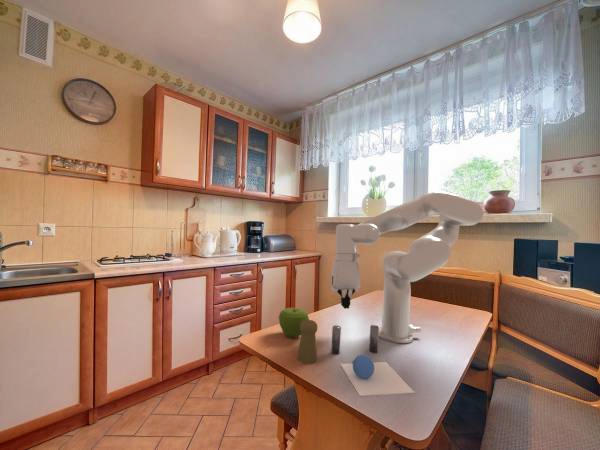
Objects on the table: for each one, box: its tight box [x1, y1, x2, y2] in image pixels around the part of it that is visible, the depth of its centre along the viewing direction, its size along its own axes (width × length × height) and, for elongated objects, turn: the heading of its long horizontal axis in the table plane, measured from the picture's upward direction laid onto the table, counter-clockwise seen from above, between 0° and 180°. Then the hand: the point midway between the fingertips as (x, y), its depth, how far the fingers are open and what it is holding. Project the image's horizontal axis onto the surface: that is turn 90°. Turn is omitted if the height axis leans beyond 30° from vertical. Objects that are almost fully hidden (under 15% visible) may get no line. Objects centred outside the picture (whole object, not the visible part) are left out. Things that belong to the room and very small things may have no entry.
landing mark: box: [340, 361, 415, 397], centre depth 69 cm, size 14×14×1 cm
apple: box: [278, 307, 310, 339], centre depth 92 cm, size 11×10×10 cm
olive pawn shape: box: [296, 319, 318, 365], centre depth 77 cm, size 6×6×11 cm
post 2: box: [368, 324, 380, 354], centre depth 83 cm, size 3×3×8 cm
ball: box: [352, 354, 375, 379], centre depth 69 cm, size 6×6×6 cm
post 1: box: [330, 324, 342, 355], centre depth 81 cm, size 3×3×8 cm
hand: (345, 307), depth 95 cm, fingers closed
